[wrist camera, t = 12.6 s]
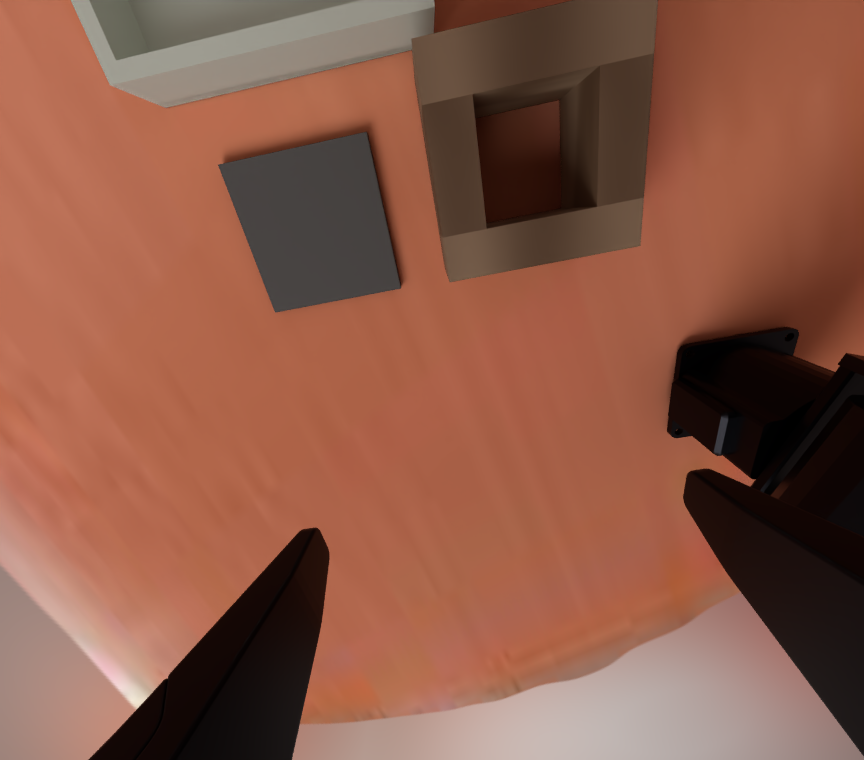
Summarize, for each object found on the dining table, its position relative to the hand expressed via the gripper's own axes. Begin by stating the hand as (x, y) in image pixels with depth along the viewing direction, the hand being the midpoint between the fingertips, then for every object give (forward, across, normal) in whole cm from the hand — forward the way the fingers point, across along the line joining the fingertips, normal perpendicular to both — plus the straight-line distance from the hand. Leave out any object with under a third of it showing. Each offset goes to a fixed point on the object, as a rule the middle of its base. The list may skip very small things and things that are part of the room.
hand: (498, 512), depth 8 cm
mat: (+13, +6, -7) cm, 16 cm away
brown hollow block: (+13, -4, -8) cm, 16 cm away
